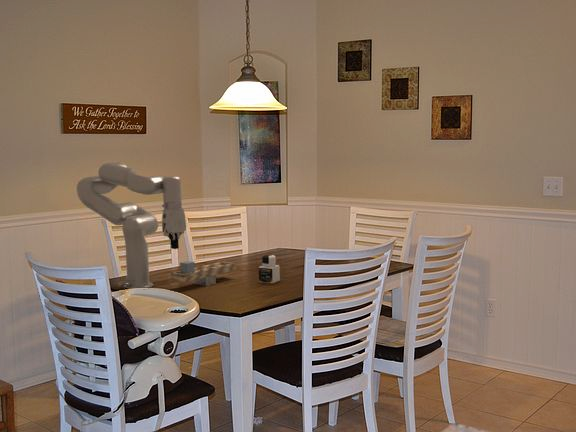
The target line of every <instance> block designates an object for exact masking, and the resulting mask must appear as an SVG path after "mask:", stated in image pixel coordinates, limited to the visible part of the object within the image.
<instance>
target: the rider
mask: <svg viewBox="0 0 576 432" xmlns="http://www.w3.org/2000/svg"><path fill="white" fill-rule="evenodd" d="M195 263H196V262H195V261H191V260H187V261H181V262H179V271H180V274H187V273H191V272H195V267H196V264H195Z"/></svg>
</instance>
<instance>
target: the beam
mask: <svg viewBox="0 0 576 432" xmlns="http://www.w3.org/2000/svg"><path fill="white" fill-rule="evenodd" d="M236 264H237V263H236V262H228V261H219V262H214V263H210V264H207V265H197V266H195V272H191V273H187V274H180V270H177V271H173V272H170V276H171V277H170V279H171V281H175V282H181V283H187V282H192V281H194V280H196V279H200V278H204V277H209V276H213V275H216V276H217V275H221V274H224V273H229V272H233V271H236V267H237V266H236Z"/></svg>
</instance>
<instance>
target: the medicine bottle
mask: <svg viewBox="0 0 576 432" xmlns="http://www.w3.org/2000/svg"><path fill="white" fill-rule="evenodd" d="M261 259H262V260H261V262H262V263H261V264H262V265H261V266H259V267H258V283H262V284H263V283H264V284H275V283H277V282H280V281H281V275H280V274H281V273H280V272H281V271H280V269H281V266H280V265H279V264H277V263H276V262H277V261H276V260H277V258H276V256H275V255H274V254H265V255H262V258H261Z"/></svg>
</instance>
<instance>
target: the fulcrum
mask: <svg viewBox="0 0 576 432" xmlns="http://www.w3.org/2000/svg"><path fill="white" fill-rule="evenodd" d="M216 279H217V275H213V276H209V277H204V278H200V279H196V280H193V284H194V285H198V286H199V285H200V286H204V287H208V286H212V285H216V284H217V282H216V281H217V280H216Z"/></svg>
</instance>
